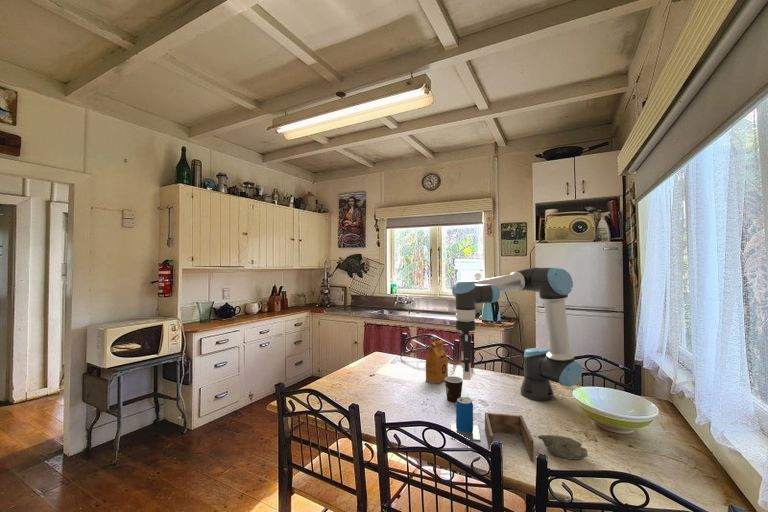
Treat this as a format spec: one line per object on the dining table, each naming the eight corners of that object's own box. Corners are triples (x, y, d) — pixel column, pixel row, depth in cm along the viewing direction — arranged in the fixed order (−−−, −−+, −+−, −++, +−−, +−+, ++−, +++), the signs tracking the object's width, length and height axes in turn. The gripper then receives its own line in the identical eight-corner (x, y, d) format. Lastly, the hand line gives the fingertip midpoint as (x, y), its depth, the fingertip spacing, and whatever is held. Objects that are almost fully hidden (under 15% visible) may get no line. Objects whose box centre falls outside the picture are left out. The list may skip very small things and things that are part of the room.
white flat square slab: (478, 426, 134) (478, 425, 134) (480, 441, 123) (480, 439, 123) (450, 424, 136) (450, 422, 136) (450, 438, 125) (450, 436, 125)
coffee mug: (463, 404, 154) (463, 383, 154) (444, 403, 156) (444, 381, 156) (462, 394, 166) (462, 374, 166) (444, 393, 167) (444, 373, 167)
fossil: (573, 475, 109) (590, 456, 113) (570, 453, 106) (588, 434, 110) (535, 447, 121) (552, 431, 125) (531, 426, 118) (549, 410, 122)
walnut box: (522, 433, 129) (522, 415, 129) (533, 461, 111) (533, 440, 111) (484, 429, 131) (484, 412, 131) (490, 456, 114) (490, 436, 114)
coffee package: (450, 380, 186) (450, 341, 186) (437, 385, 177) (437, 344, 177) (436, 375, 193) (436, 338, 193) (423, 381, 184) (423, 341, 185)
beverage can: (460, 424, 134) (460, 395, 134) (475, 430, 130) (475, 399, 130) (453, 431, 129) (453, 400, 129) (468, 436, 125) (468, 405, 125)
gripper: (455, 314, 143) (455, 362, 143) (456, 325, 119) (456, 384, 119) (473, 314, 142) (473, 363, 142) (477, 326, 118) (478, 385, 117)
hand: (465, 373), depth 130 cm, fingers open, 13 cm apart
